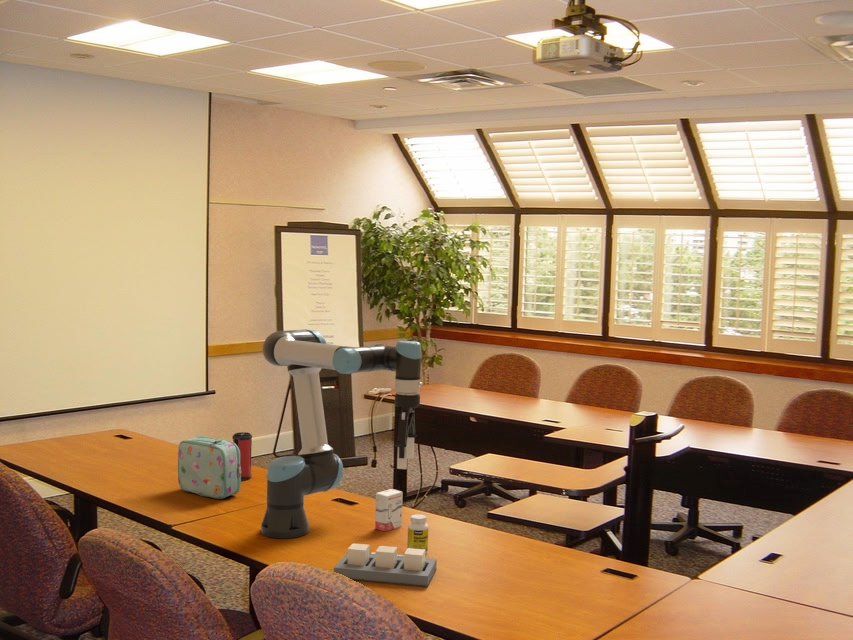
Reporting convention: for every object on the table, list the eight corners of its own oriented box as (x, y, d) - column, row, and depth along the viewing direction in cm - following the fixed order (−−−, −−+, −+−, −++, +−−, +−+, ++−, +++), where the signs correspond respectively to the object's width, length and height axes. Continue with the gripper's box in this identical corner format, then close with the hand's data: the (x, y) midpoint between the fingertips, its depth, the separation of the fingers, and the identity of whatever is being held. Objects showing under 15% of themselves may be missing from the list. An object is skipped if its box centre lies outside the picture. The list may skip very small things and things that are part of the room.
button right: (403, 569, 234) (404, 553, 234) (407, 563, 239) (407, 548, 239) (421, 571, 234) (422, 555, 233) (425, 565, 238) (425, 549, 238)
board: (333, 578, 234) (334, 567, 233) (347, 561, 247) (348, 551, 247) (427, 587, 229) (427, 576, 229) (436, 569, 243) (436, 559, 242)
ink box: (385, 532, 276) (386, 496, 275) (374, 529, 279) (374, 493, 278) (402, 526, 283) (403, 491, 282) (391, 523, 286) (392, 488, 285)
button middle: (375, 567, 236) (375, 551, 236) (379, 561, 241) (380, 545, 241) (393, 568, 235) (393, 552, 235) (397, 562, 240) (397, 547, 240)
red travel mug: (249, 481, 337) (249, 435, 336) (229, 480, 337) (230, 435, 336) (253, 476, 345) (254, 432, 344) (234, 475, 345) (235, 431, 344)
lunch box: (246, 497, 314) (247, 439, 313) (225, 503, 305) (226, 443, 304) (195, 485, 328) (196, 430, 327) (174, 491, 319) (175, 434, 318)
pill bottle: (412, 557, 253) (413, 520, 252) (403, 550, 258) (404, 514, 257) (431, 554, 256) (432, 518, 255) (421, 548, 261) (422, 512, 260)
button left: (347, 564, 237) (347, 548, 237) (352, 558, 242) (352, 543, 242) (364, 566, 236) (365, 550, 236) (369, 560, 241) (369, 544, 241)
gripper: (413, 399, 242) (411, 474, 243) (425, 388, 266) (423, 455, 267) (387, 398, 243) (385, 472, 244) (402, 386, 267) (400, 453, 268)
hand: (405, 463), depth 256 cm, fingers open, 13 cm apart
